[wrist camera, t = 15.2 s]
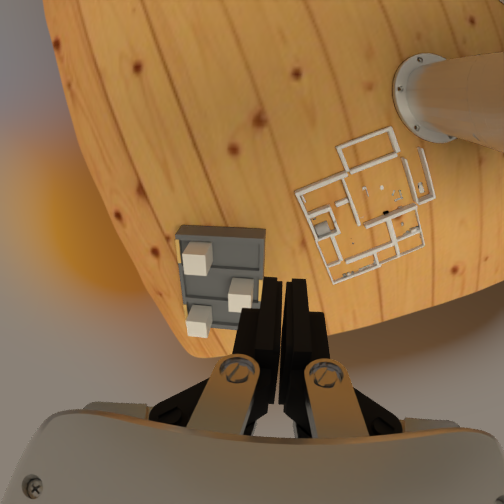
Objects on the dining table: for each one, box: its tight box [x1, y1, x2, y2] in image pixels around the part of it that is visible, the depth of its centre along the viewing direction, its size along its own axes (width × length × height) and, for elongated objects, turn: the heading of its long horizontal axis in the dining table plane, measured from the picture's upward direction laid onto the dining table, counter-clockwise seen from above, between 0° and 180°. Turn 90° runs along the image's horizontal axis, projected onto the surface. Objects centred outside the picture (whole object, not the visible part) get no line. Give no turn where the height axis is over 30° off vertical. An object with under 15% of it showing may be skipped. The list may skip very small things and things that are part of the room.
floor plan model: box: [295, 126, 436, 285], centre depth 37 cm, size 19×25×2 cm
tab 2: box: [186, 305, 213, 338], centre depth 45 cm, size 3×3×4 cm
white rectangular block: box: [182, 241, 213, 276], centre depth 40 cm, size 3×3×4 cm
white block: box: [228, 278, 254, 313], centre depth 42 cm, size 3×3×4 cm
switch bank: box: [175, 225, 266, 330], centre depth 45 cm, size 12×16×4 cm
